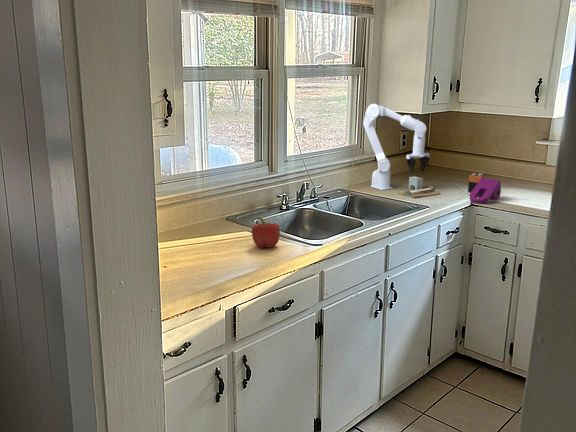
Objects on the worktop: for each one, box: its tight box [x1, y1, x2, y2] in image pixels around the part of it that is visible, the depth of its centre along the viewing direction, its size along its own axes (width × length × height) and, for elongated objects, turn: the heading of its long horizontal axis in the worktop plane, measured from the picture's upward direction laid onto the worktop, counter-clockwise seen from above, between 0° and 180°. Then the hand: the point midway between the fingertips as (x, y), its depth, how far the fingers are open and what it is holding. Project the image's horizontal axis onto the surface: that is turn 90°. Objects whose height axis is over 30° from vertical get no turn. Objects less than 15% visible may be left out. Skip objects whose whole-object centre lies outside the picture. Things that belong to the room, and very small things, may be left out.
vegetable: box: [251, 216, 280, 249], centre depth 212 cm, size 11×10×10 cm
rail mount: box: [398, 186, 441, 199], centre depth 296 cm, size 11×18×3 cm, turn 123°
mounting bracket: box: [468, 177, 502, 205], centre depth 286 cm, size 10×8×18 cm
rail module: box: [408, 175, 424, 190], centre depth 308 cm, size 6×4×6 cm, turn 33°
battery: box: [467, 172, 486, 194], centre depth 300 cm, size 4×7×10 cm, turn 49°
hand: (416, 171), depth 305 cm, fingers open, 7 cm apart
